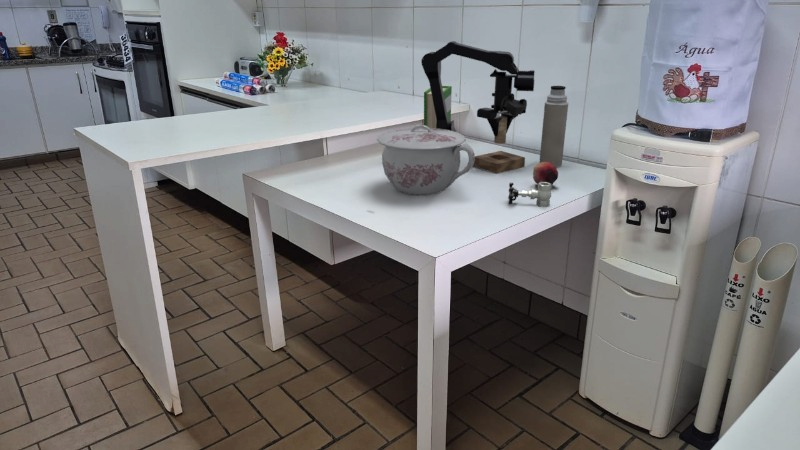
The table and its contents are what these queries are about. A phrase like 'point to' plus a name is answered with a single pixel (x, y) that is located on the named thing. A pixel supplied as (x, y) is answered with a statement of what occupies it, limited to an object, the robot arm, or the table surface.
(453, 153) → the chamber pot
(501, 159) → the socket block
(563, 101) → the thermos bottle
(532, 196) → the valve
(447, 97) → the hardback book
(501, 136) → the peg
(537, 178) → the fruit
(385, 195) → the table surface
